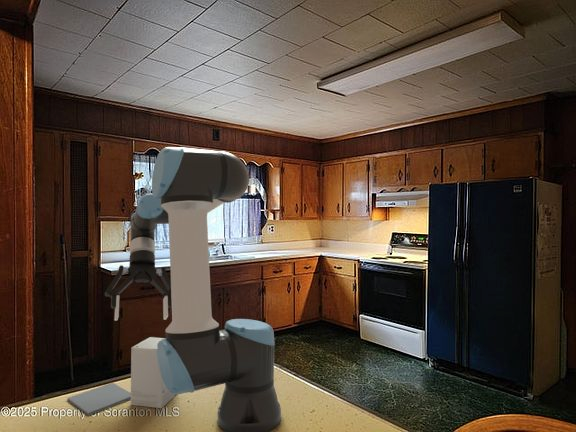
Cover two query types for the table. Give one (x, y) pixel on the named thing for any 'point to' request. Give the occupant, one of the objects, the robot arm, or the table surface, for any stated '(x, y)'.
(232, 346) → the robot arm
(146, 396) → the supplement box
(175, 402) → the table surface
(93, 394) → the mat
